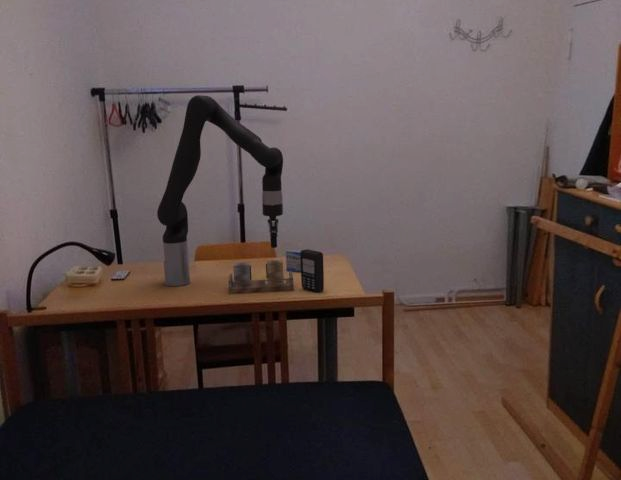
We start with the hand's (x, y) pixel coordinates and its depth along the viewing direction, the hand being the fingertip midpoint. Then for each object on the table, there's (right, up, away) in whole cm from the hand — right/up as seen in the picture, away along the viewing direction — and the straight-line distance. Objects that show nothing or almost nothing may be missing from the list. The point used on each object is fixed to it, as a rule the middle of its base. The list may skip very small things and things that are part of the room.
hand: (273, 245), depth 222 cm
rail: (-5, -17, +3) cm, 18 cm away
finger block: (+1, -14, +3) cm, 15 cm away
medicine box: (+8, -11, +27) cm, 30 cm away
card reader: (+14, -17, -1) cm, 22 cm away
